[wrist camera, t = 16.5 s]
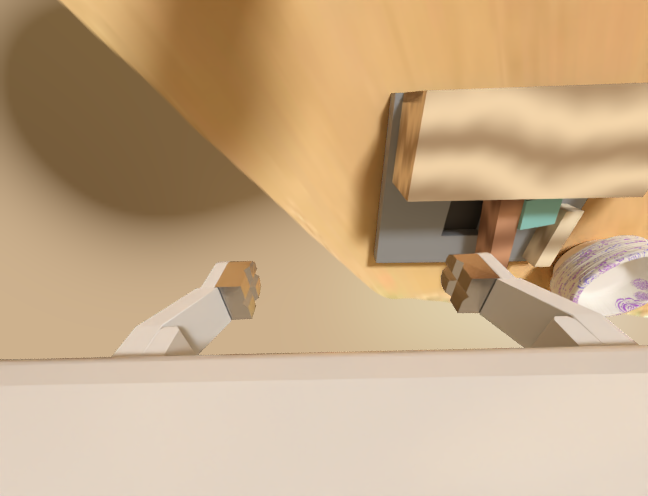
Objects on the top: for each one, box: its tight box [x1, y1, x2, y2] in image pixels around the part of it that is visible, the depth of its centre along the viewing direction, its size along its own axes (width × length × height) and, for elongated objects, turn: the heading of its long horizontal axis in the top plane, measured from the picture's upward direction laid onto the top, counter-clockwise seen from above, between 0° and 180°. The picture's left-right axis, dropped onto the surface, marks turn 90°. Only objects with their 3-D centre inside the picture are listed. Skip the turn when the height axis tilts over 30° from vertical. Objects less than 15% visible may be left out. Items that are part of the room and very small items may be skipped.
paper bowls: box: [550, 235, 648, 317], centre depth 41 cm, size 15×15×8 cm
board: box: [374, 93, 588, 263], centre depth 36 cm, size 26×31×2 cm
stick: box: [522, 203, 584, 267], centre depth 37 cm, size 10×2×3 cm, turn 2°
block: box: [517, 199, 563, 230], centre depth 34 cm, size 4×4×4 cm
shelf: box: [392, 83, 648, 202], centre depth 28 cm, size 11×27×8 cm, turn 92°
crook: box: [475, 199, 525, 269], centre depth 36 cm, size 16×8×4 cm, turn 13°
